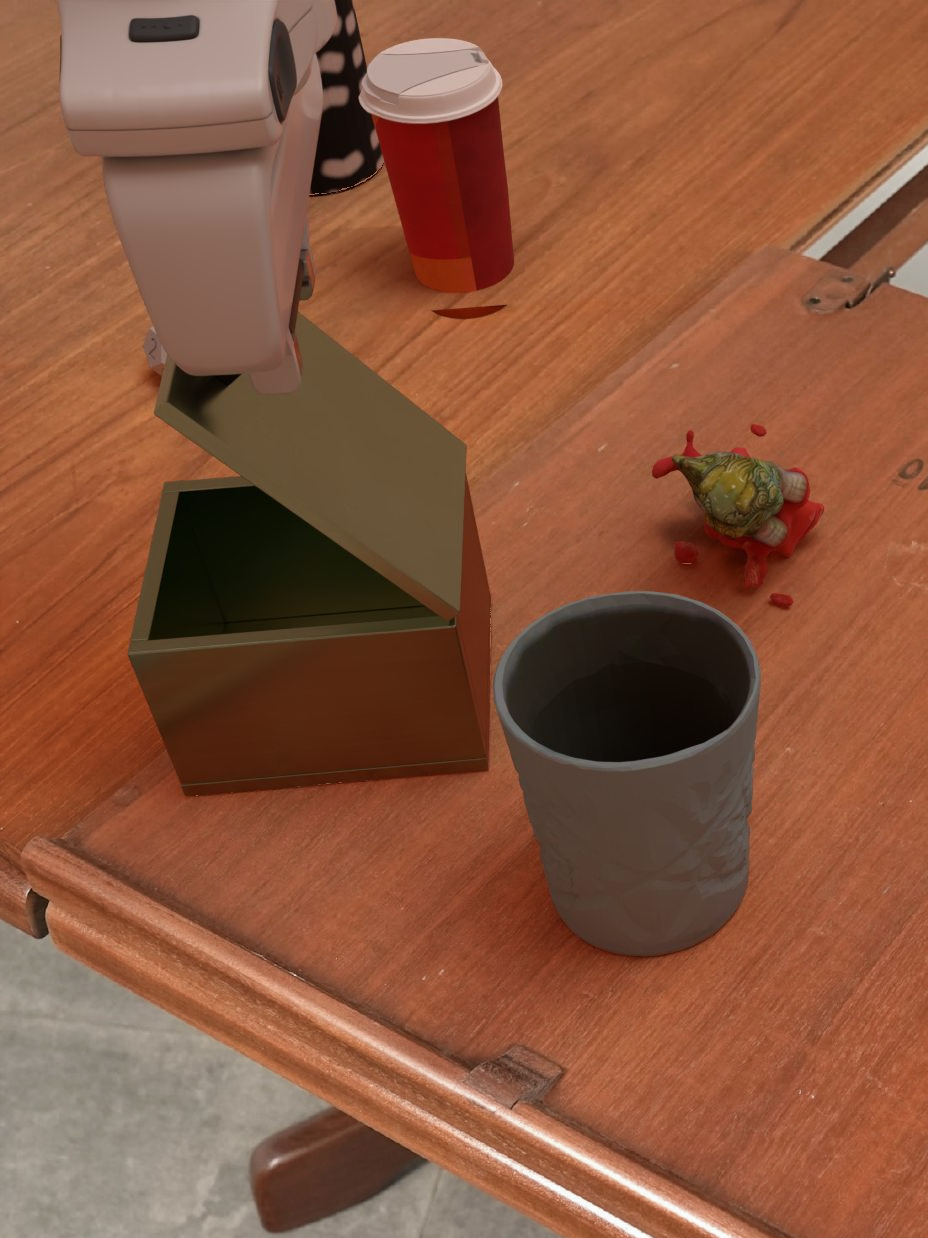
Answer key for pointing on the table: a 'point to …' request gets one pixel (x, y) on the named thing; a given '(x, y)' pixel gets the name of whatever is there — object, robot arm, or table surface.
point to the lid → (340, 459)
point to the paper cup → (445, 162)
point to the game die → (154, 351)
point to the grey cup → (635, 764)
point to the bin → (300, 651)
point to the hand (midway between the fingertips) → (287, 337)
